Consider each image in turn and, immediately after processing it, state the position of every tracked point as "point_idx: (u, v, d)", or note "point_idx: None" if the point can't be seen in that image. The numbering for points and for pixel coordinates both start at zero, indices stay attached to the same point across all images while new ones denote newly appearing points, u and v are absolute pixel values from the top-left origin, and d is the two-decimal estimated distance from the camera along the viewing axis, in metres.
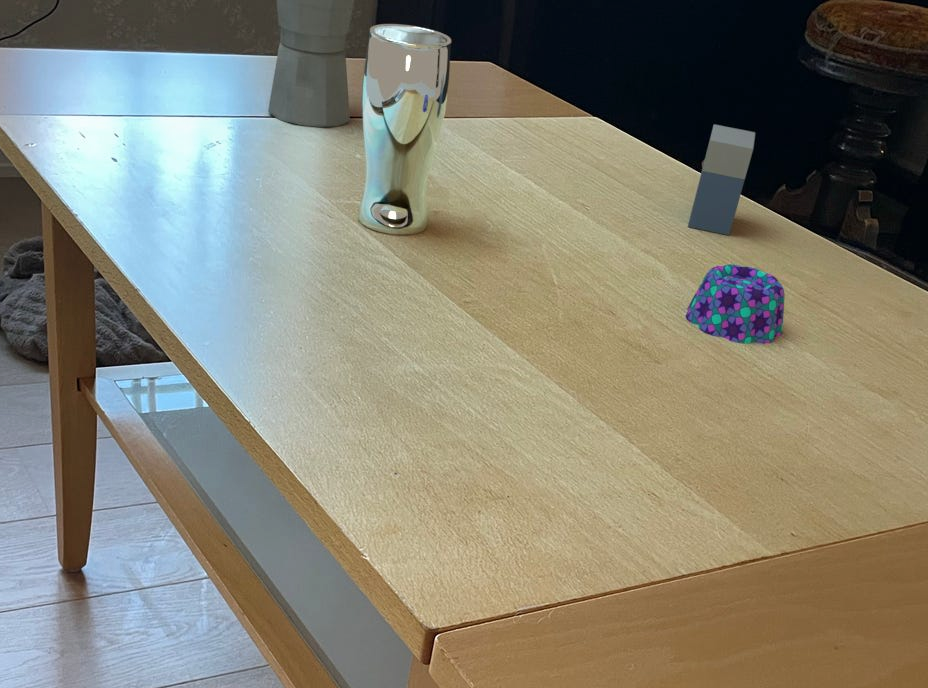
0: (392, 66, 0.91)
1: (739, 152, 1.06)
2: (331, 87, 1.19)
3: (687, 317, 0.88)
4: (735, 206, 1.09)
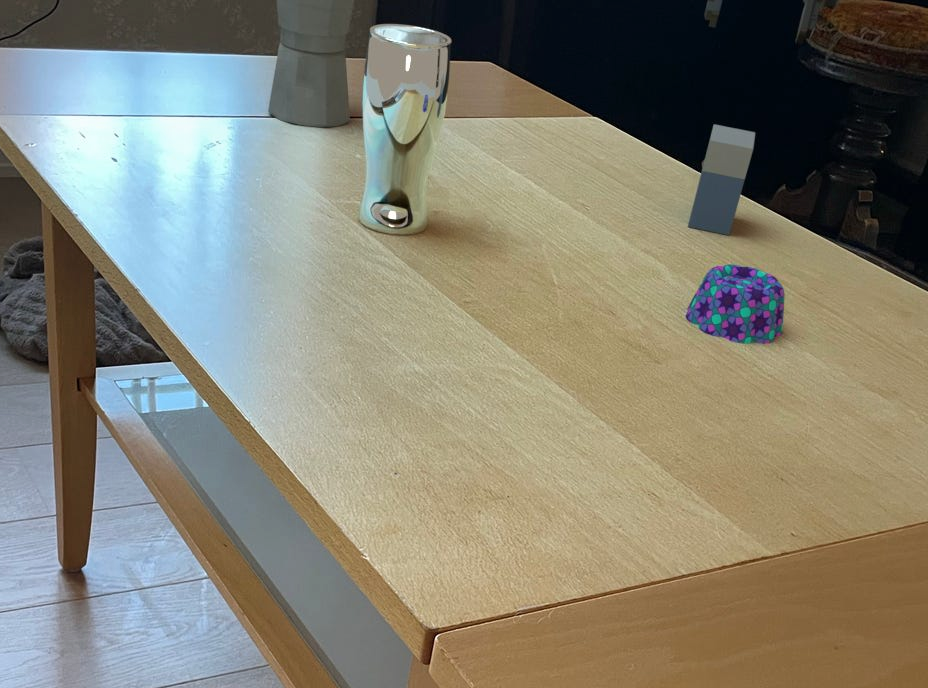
0: (392, 66, 0.91)
1: (739, 152, 1.06)
2: (331, 87, 1.19)
3: (687, 317, 0.88)
4: (735, 206, 1.09)
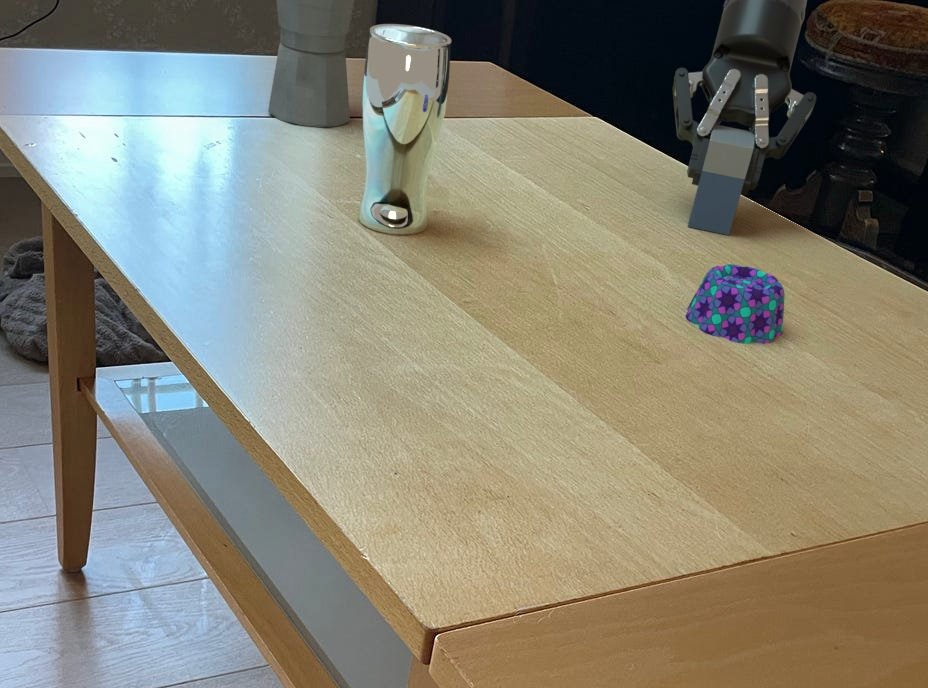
0: (392, 66, 0.91)
1: (739, 152, 1.06)
2: (331, 87, 1.19)
3: (687, 317, 0.88)
4: (735, 206, 1.09)
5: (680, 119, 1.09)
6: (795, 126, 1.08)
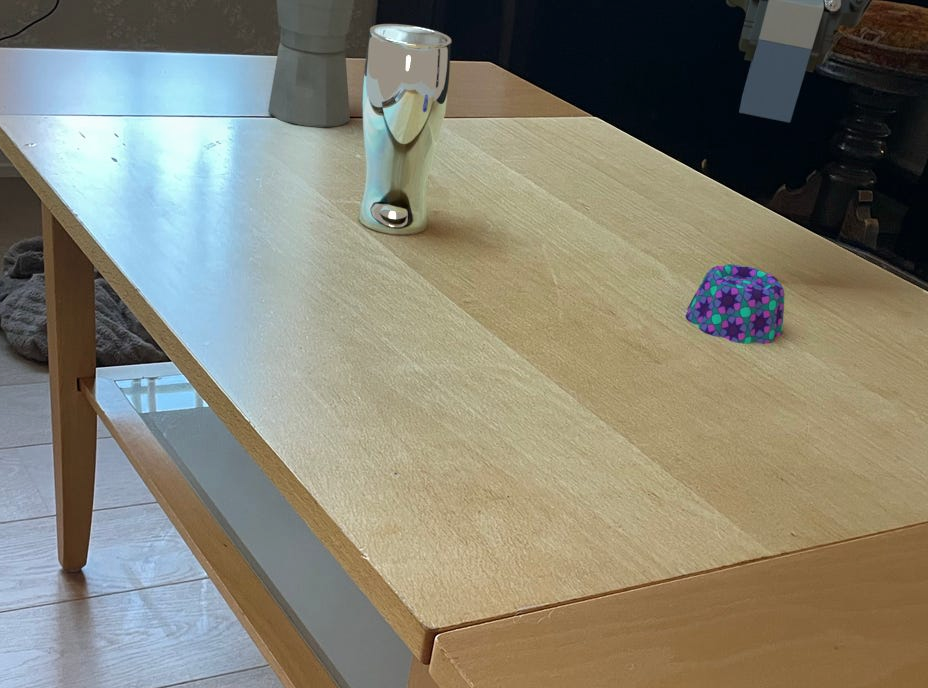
0: (392, 66, 0.91)
1: (806, 13, 0.85)
2: (331, 87, 1.19)
3: (687, 317, 0.88)
4: (799, 84, 0.88)
5: None
6: None
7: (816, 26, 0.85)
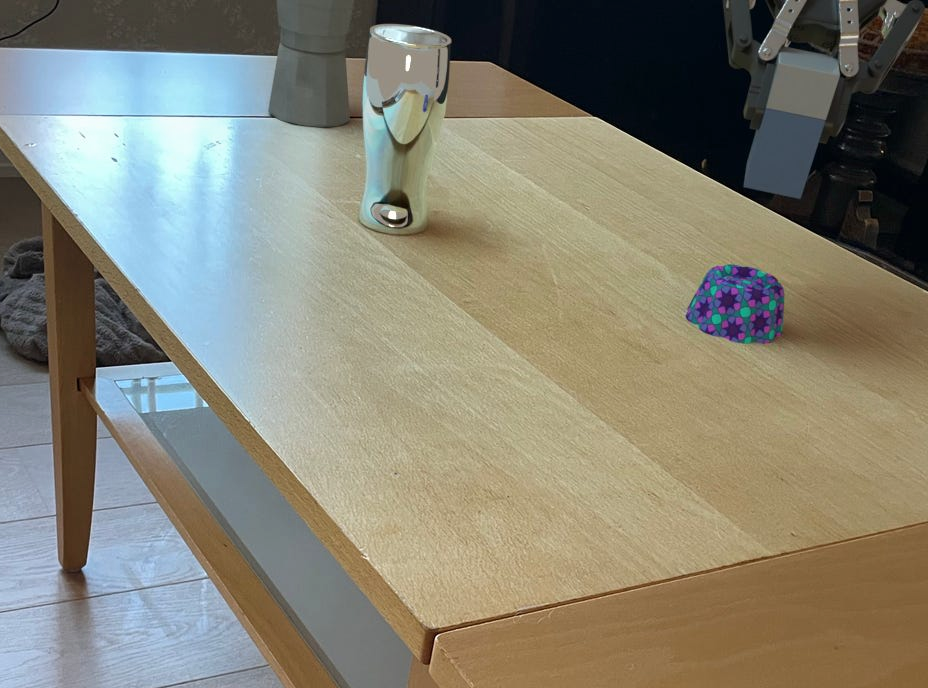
0: (392, 66, 0.91)
1: (820, 80, 0.76)
2: (331, 87, 1.19)
3: (687, 317, 0.88)
4: (811, 158, 0.78)
5: (735, 37, 0.79)
6: (895, 47, 0.78)
7: (831, 95, 0.76)
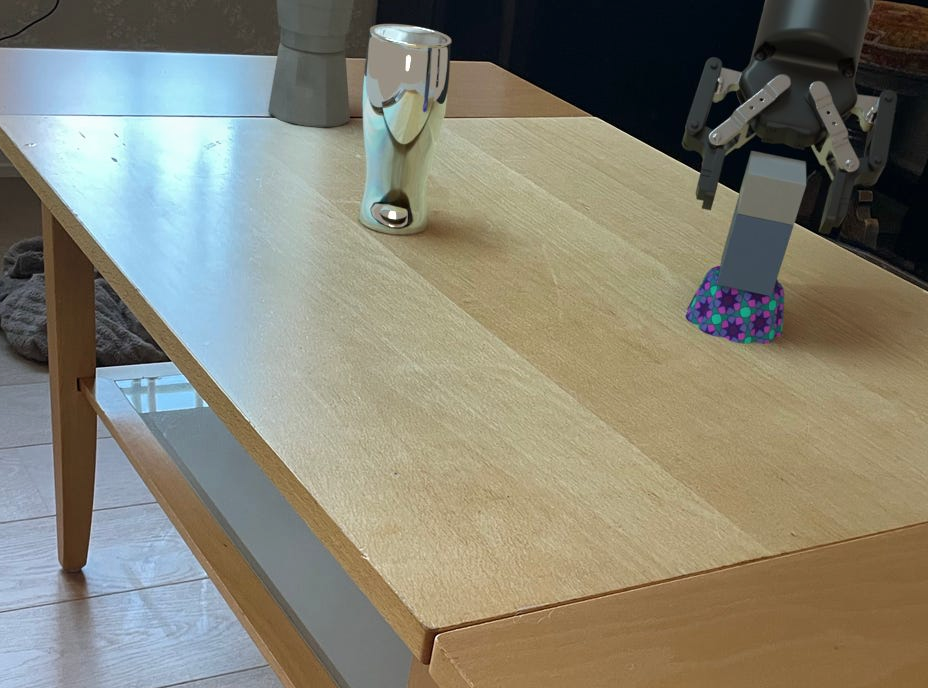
0: (392, 66, 0.91)
1: (787, 189, 0.80)
2: (331, 87, 1.19)
3: (687, 317, 0.88)
4: (780, 259, 0.82)
5: (687, 121, 0.83)
6: (886, 138, 0.81)
7: (798, 202, 0.80)
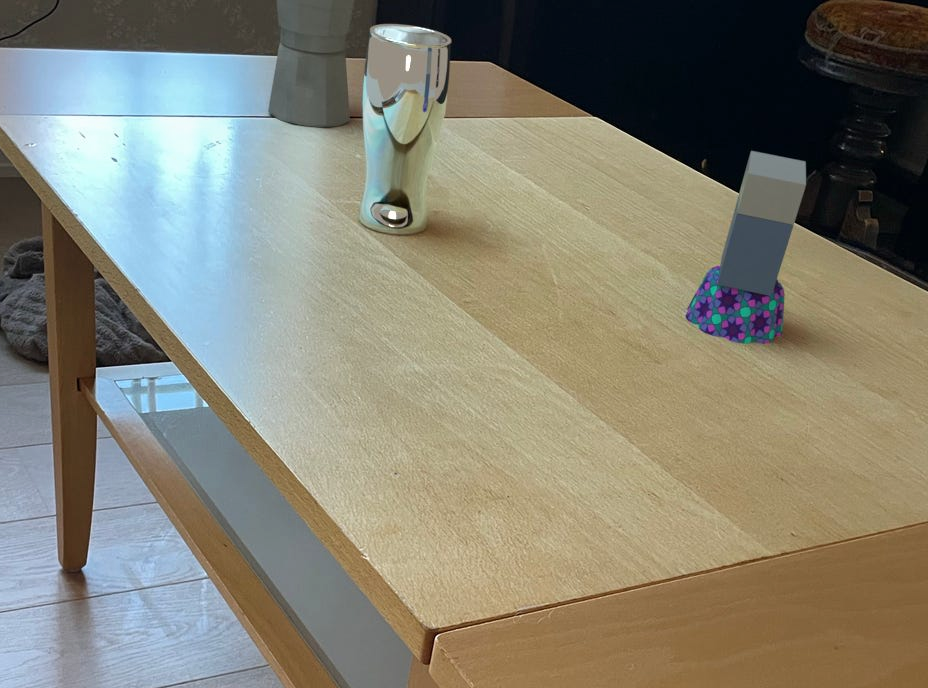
0: (392, 66, 0.91)
1: (787, 189, 0.80)
2: (331, 87, 1.19)
3: (687, 317, 0.88)
4: (780, 259, 0.82)
5: None
6: None
7: (798, 202, 0.80)
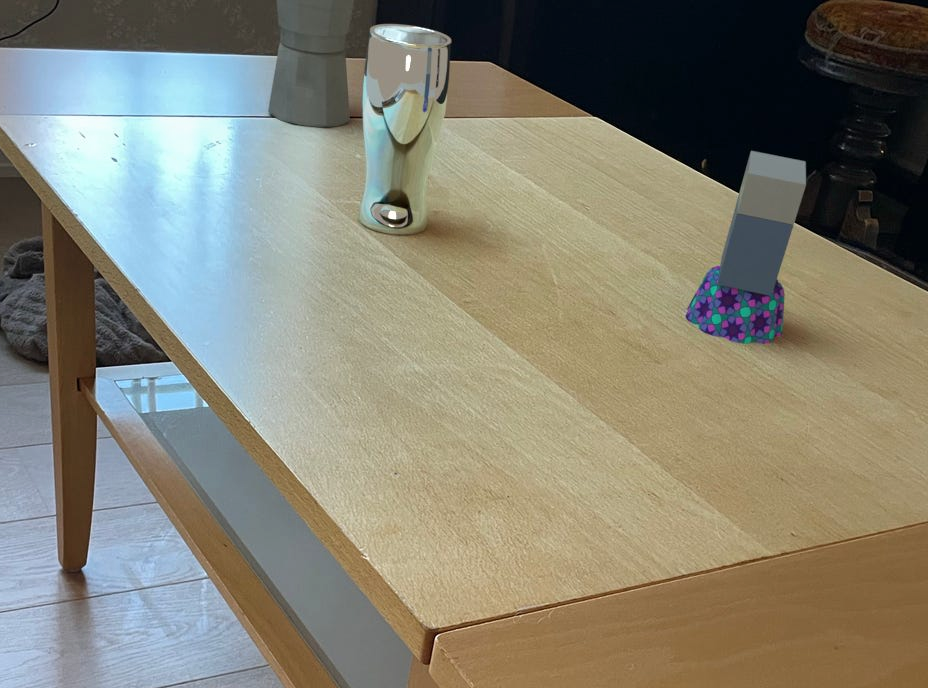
0: (392, 66, 0.91)
1: (787, 189, 0.80)
2: (331, 87, 1.19)
3: (687, 317, 0.88)
4: (780, 259, 0.82)
5: None
6: None
7: (798, 202, 0.80)
